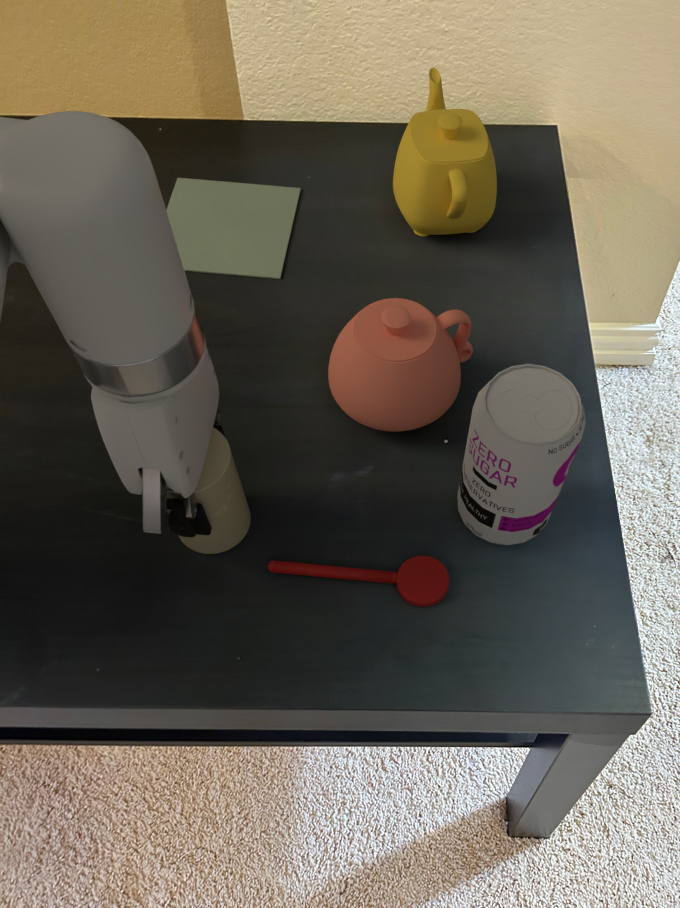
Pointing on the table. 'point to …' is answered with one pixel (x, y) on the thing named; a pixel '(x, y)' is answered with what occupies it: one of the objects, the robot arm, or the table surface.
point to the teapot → (445, 169)
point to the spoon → (385, 577)
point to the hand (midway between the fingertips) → (201, 490)
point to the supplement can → (518, 452)
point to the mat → (232, 226)
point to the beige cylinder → (219, 500)
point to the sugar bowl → (398, 364)
